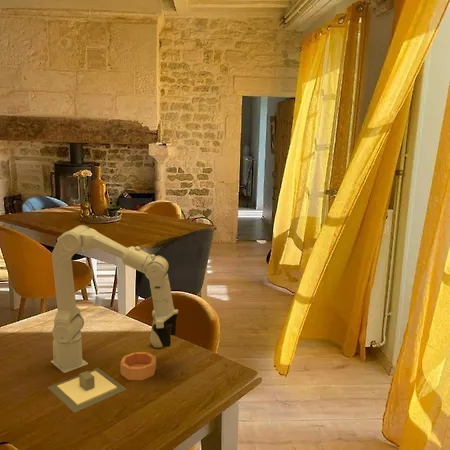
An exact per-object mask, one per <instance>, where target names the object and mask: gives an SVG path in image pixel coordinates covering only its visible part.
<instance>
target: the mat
mask: <svg viewBox="0 0 450 450" xmlns="http://www.w3.org/2000/svg"><path fill="white" fill-rule="evenodd" d="M87 371H88V372H89V373H91V372H93V371H96V372H98V373H99V374H100V375H102V376H103V377H104V378H106V379H107V380H108V381H110V382H111V383H112V384H114V385H115V386H116V387H117V389H116V390H114V391H111V392H109V393H107V394H105V395H102V396H100V397H98V398H95V399H93V400H91V401H88V402H86V403H84V404H82V405H79V406H77V405H76V404H75V403H74V402H72V401H71V400H70V399H69V398H68V397H67V396H66V395H65V394H64V393H63V392H61V391H60V390H59V389H58V388H57V386H58V385H60V384H63V383H65V382H68V381H70V380H73V379H76V378H78V377H79V374H78V375H76V376H73V377H70V378H68V379H66V380H65V379H64V380H63V381H60V382H57V383H54V384H52V385H49V386H48V387H46V388H47V389H48V390H49V391H50V392H51V393H52V394H53V395H54V396H56V397H57V398H58V400H60V401H61V402H62V403H63V404H64V405H65V406H66V407H67V408H68V409H70V411H71V412H72V413H74V414H75V413H77V412H79V411H82V410H83V409H84V410H85V409H87V408H89V407H91V406H93V405H96V404H97V403H100V402H102V401H105V400H106V399H108V398H111V397H113V396H115V395H117V394H120V393H121V392H124V391H127V390H128V389H127V388H126V387H125V386H124V385H122V384H120V382H118V381H117V380H115V379H114V378H113V377H112V376H110V375H109V374H107V372H105V371H103V370H102V369H100V367H97V368H93V369H91V370H87Z"/></svg>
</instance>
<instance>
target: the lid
mask: <svg viewBox="0 0 450 450" xmlns="http://www.w3.org/2000/svg"><path fill="white" fill-rule="evenodd" d="M88 371H89V370H86V371H83V372H81V373H79V374H78V375H79V377H78V378H76V379H73V380H70V381H68V382H65V383H63V384H60V385H58V386H57V388H58V389H59V390H60V391H61V392H63V393H64V394H65V395H66V396H67V397H68V398H69V399H70V400H71V401H72V402H74V403H75V404H76V405H77V406H79V405H82V404H84V403H86V402H88V401H91V400H93V399H95V398H98V397H100V396H102V395H105V394H107V393H109V392H111V391H114V390H116V389H117V387H116V386H115V385H114V384H112V383H111V382H110V381H108V380H107V379H106V378H104V377H103V376H102V375H100V374H99V373H98V372H96V371H93V372H91V373H89V372H88Z"/></svg>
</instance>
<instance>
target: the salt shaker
mask: <svg viewBox="0 0 450 450" xmlns="http://www.w3.org/2000/svg"><path fill="white" fill-rule="evenodd" d="M154 313H155V311H154V309H153V310H152V311H151V316H152V318H153V320H152V325H151V329H150V330H151V331H150V336H149V341H150V343H151V346H152V347H153V348H155V349H161V348H164V347H163V345H162V343H161V341H160V339H159V337H158V335H157V334H156V333H155V332H154V331H153V328H152V326H153V325H154V324H156V319H155V315H154Z"/></svg>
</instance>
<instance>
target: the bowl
mask: <svg viewBox="0 0 450 450" xmlns="http://www.w3.org/2000/svg"><path fill="white" fill-rule="evenodd" d="M119 365H120V370H119V371H120V375H121V376H122V377H124V378H125V379H126V380H128V381H144V380H146V379H149V378H151V377H154V376H155V373H156V369H157V357H156V356H155V355H153V354H151V353H149V352H146V351H145V352H143V351H133V352H132V353H128V354H126V355H124V356H122V359H121V361H120V363H119Z"/></svg>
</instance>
